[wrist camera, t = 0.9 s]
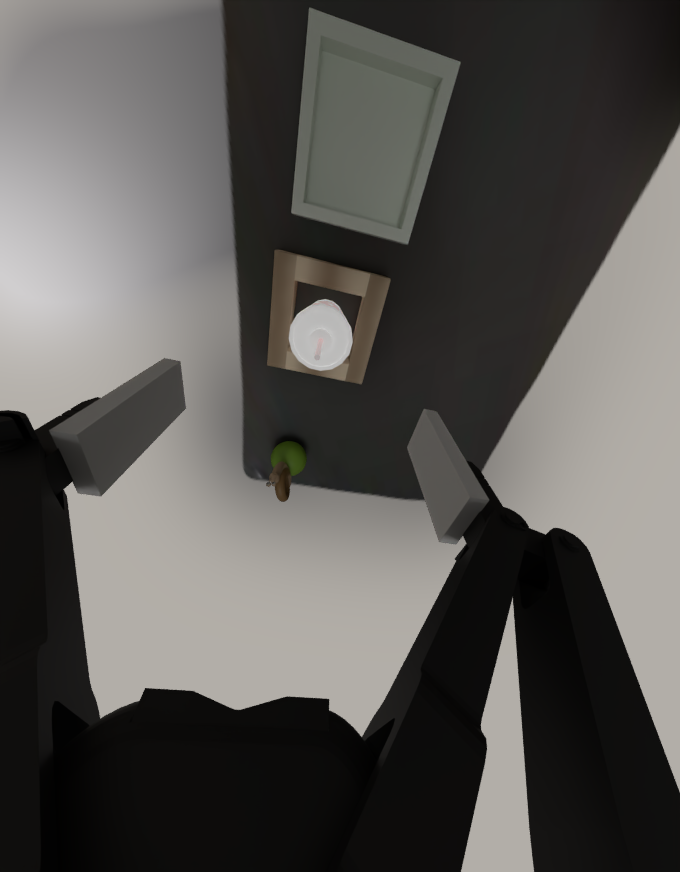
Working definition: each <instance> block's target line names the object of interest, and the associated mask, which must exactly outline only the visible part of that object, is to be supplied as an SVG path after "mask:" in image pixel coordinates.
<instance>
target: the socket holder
mask: <svg viewBox="0 0 680 872" xmlns="http://www.w3.org/2000/svg"><path fill="white" fill-rule="evenodd" d="M298 281H300V282H304V283H308V284H312V285H316V286H321V287H325V288H329V289H333V290H337V291H341V292H346V293H350V294H354V295H358V296H362V300H361V304H360V308H359V313H358V317H357V321H356V326H355V330H354V334H353V338H352V340H353V343H352V347H351V350H350V354H349V356H347V358H346V359H345V360H344V362H343V363H342V364H340V365H339V366H337V367H335V368H333V369H331V370H323V371H319V370H315V369H311V368H308V367H306V366H305V365H304V364H302V363H301V362H299V361H298V359H297V358H296V356H295V355H294V354H293V352H292V350H291V346H290V342H289V332H290V326H291V324H292V322H293V319H294V310H295V301H296V292H297V282H298ZM390 281H391V279H390V278H388V277H387V276H383V275H379V274H375V273H371V272H367V271H363V270H359V269H355V268H351V267H347V266H343V265H339V264H335V263H331V262H327V261H323V260H319V259H315V258H311V257H307V256H303V255H299V254H295V253H291V252H287V251H283V250H275V254H274V269H273V285H272V300H271V315H270V330H269V346H268V361H267V365H269V366H274V367H279V368H284V369H288V370H293V371H298V372H303V373H308V374H313V375H318V376H323V377H328V378H333V379H338V380H343V381H348V382H353V383H358V384H362V381H363V378H364V374H365V371H366V367H367V363H368V360H369V356H370V353H371V349H372V345H373V342H374V338H375V335H376V331H377V327H378V324H379V320H380V317H381V313H382V309H383V306H384V302H385V299H386V295H387V291H388V288H389V284H390Z"/></svg>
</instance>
